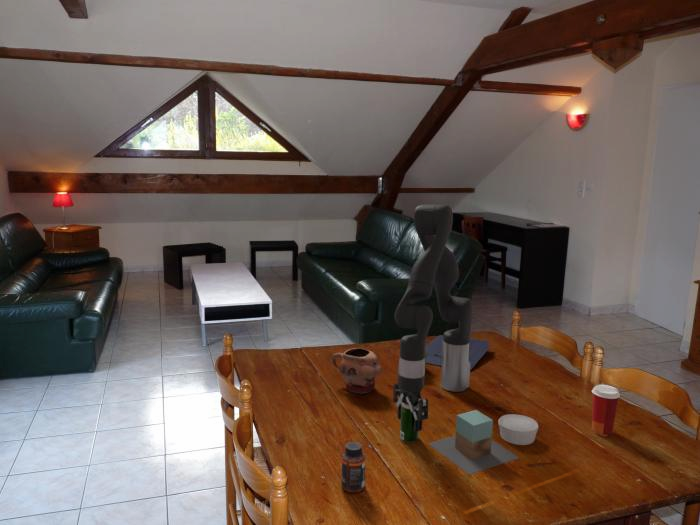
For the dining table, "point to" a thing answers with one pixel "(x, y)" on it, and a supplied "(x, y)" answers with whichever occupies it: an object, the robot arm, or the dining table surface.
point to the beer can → (407, 424)
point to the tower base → (473, 446)
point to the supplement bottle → (353, 468)
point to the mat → (476, 464)
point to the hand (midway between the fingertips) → (409, 424)
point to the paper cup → (604, 408)
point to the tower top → (474, 426)
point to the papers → (436, 348)
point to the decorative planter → (358, 369)
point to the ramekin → (518, 429)
